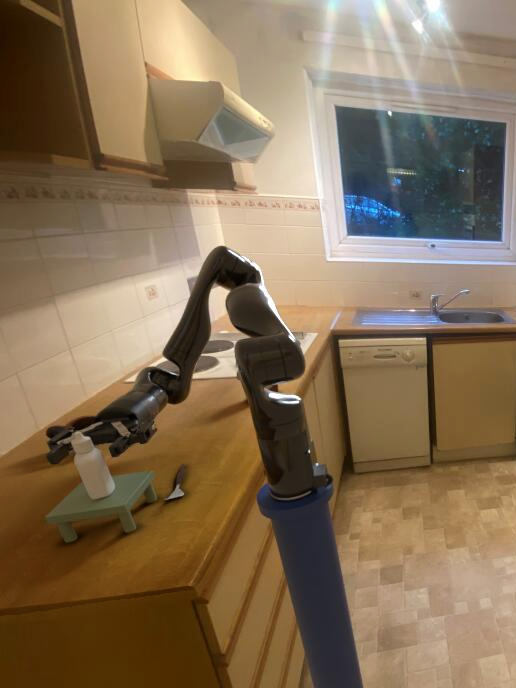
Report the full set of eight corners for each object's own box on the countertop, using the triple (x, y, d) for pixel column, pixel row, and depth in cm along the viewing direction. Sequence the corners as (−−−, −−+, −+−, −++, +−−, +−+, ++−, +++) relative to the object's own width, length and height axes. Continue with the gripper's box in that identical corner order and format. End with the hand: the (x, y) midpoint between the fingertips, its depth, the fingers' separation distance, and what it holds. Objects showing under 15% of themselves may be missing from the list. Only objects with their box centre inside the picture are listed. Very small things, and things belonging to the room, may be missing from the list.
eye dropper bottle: (77, 502, 75) (49, 442, 70) (100, 483, 80) (76, 425, 75) (105, 500, 75) (79, 440, 71) (126, 481, 80) (104, 424, 76)
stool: (162, 495, 86) (152, 470, 84) (135, 533, 76) (124, 505, 74) (94, 505, 83) (83, 479, 81) (58, 545, 74) (44, 517, 71)
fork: (191, 464, 97) (188, 456, 96) (182, 504, 84) (179, 495, 83) (177, 467, 96) (174, 459, 95) (165, 508, 83) (162, 499, 82)
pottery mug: (120, 432, 111) (116, 411, 106) (111, 463, 105) (106, 443, 100) (55, 431, 104) (47, 409, 99) (41, 464, 99) (32, 443, 94)
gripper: (79, 402, 84) (20, 443, 70) (164, 394, 88) (125, 431, 74) (93, 436, 87) (39, 481, 73) (175, 427, 91) (139, 468, 77)
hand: (82, 456), depth 73 cm, fingers open, 8 cm apart
